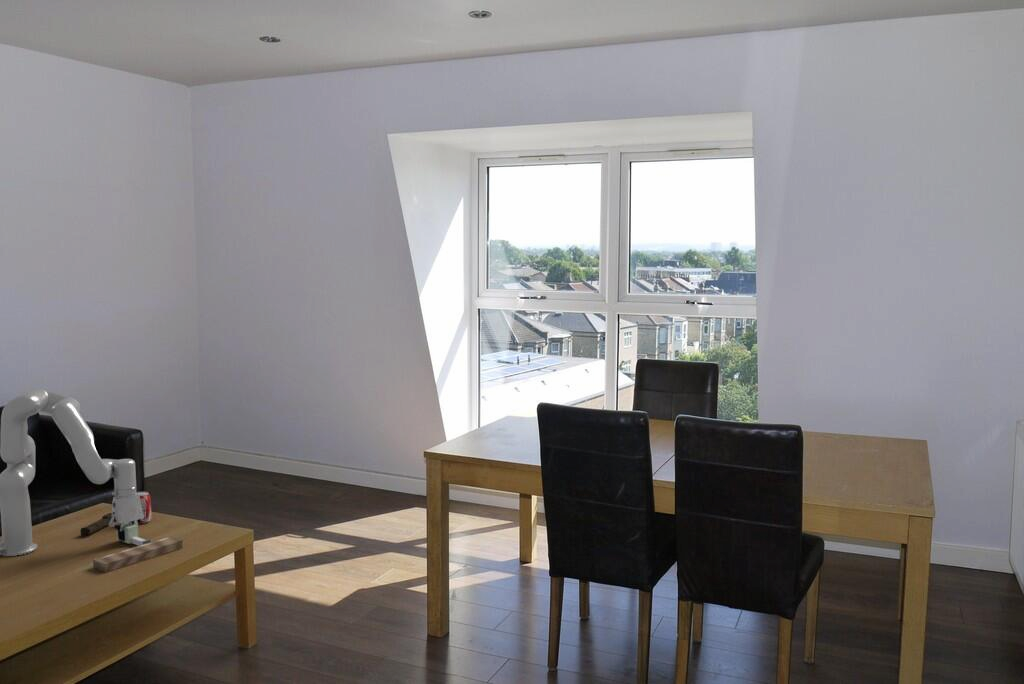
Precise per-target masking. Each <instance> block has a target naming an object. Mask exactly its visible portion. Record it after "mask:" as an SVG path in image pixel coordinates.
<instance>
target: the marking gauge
mask: <svg viewBox="0 0 1024 684" xmlns="http://www.w3.org/2000/svg"><path fill="white" fill-rule="evenodd" d="M116 525H117V523H116ZM123 531H125V541H121V540H119V539H118V530H116V540H117V541H120V542H122V543H126V544H133V545H135V546H139V545H142V544H146V543H149V542H151V539H144V538H141V537H139V524H138V525H135V524H132V523H131V522H128V523H124V526H123Z"/></svg>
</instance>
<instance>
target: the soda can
mask: <svg viewBox="0 0 1024 684" xmlns="http://www.w3.org/2000/svg"><path fill="white" fill-rule="evenodd" d="M136 493H139V496H140V500H141V506H142V513H143V514H144V515H145V517H144V518H143V519H142V520H141V521H140V523H145V522H148V521H149V522H150V521H151V520H152V501H151V500H152V499H151V495H150V493H149V492H148V491H136ZM149 522H148V523H149ZM145 524H146V523H145Z"/></svg>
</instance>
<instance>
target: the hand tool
mask: <svg viewBox="0 0 1024 684" xmlns="http://www.w3.org/2000/svg"><path fill="white" fill-rule="evenodd" d="M111 519H112V512H108V513H106V514H103V515H102V518H101V519H99V520H97V521H95V522H93V523H91V524H89V525H87V526H85V527H81V528H80V536H81V537H82V536H88V537H90V536H92V534H94V533H95V532H98V531H99V530H101V529H103V528H105V527H110V526H109V522H110V520H111Z"/></svg>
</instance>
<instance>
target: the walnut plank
mask: <svg viewBox="0 0 1024 684" xmlns="http://www.w3.org/2000/svg"><path fill="white" fill-rule="evenodd" d="M183 542H184V541H183V540H182V539H180V538H176V537H173V536H172V535H171V536H170V535H169V536H166V537H163V538H159V539H156V540H154V541H153V540H152V541H150V542H149V543H146V544H142V545H139V546H138V545H135V546H132V547H129V548H126V549H122V550H119V551H115V552H113V553H110V554H106V555H103V556H99V557H95V558H93V559H92V564H93V565H92V566H93V567H94V568H93V569H96V568H97V569H96V570H98V569H99V570H98V571H101V570H102V571H101V572H103V571H104V573H109V572H112V571H115V570H118V569H117V568H119V569H121V567H122V568H125V567H127V565H128V566H130V564H131V565H134V564H137V563H140V562H139V561H141V562H143V560H144V561H147V560H150V559H153V558H156V557H159V555H160V556H162V554H163V555H166V554H168V553H167V552H169V553H171V551H172V552H175V551H178V550H181V549H180V548H182V549H184V545H183ZM177 549H178V550H177ZM174 550H175V551H174ZM165 553H166V554H165ZM155 556H156V557H155ZM152 557H153V558H152ZM149 558H150V559H149ZM146 559H147V560H146ZM136 562H137V563H136ZM133 563H134V564H133ZM124 566H125V567H124ZM111 570H112V571H111ZM108 571H109V572H108Z"/></svg>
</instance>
